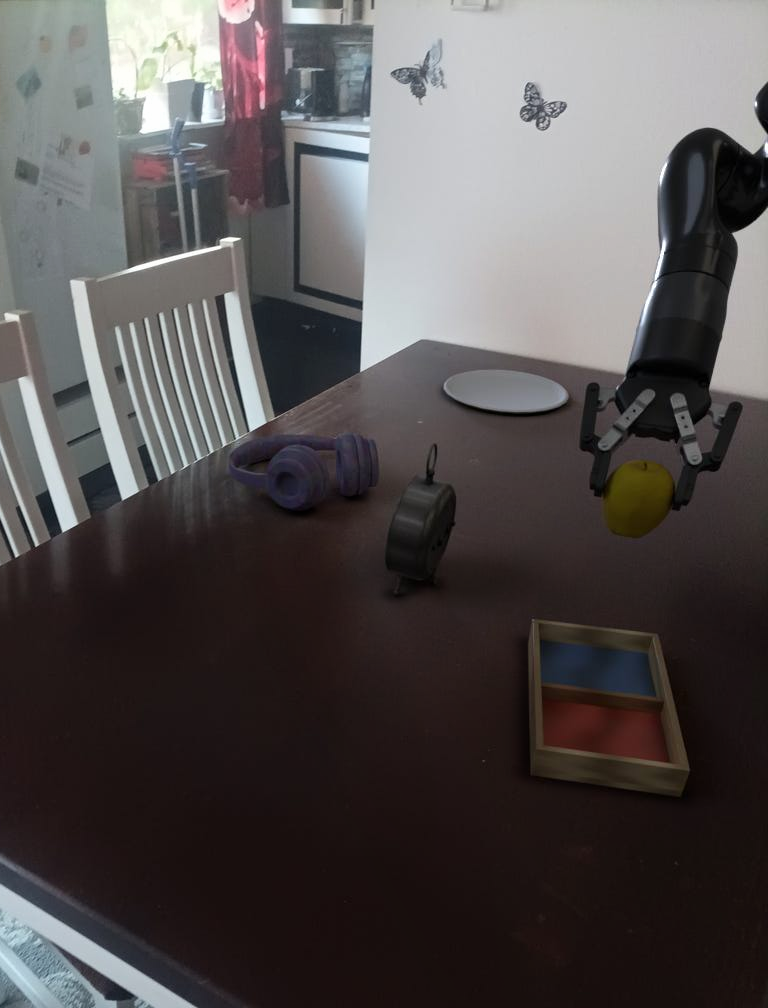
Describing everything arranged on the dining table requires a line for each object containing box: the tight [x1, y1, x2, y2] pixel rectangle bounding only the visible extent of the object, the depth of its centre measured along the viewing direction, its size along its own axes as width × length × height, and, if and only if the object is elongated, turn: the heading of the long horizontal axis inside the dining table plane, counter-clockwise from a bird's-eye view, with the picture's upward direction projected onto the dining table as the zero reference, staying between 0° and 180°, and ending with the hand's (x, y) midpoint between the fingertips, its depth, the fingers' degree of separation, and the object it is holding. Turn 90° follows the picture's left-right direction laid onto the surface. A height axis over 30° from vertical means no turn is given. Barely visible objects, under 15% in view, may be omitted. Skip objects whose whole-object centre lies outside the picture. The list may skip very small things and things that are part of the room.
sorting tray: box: [527, 618, 691, 798], centre depth 82 cm, size 12×20×3 cm, turn 168°
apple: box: [601, 459, 676, 539], centre depth 84 cm, size 6×6×8 cm
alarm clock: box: [384, 442, 457, 597], centre depth 97 cm, size 11×5×16 cm, turn 154°
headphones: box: [227, 432, 380, 512], centre depth 120 cm, size 18×8×20 cm
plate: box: [443, 369, 570, 415], centre depth 152 cm, size 21×21×1 cm
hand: (637, 500), depth 83 cm, fingers closed on apple, 6 cm apart
